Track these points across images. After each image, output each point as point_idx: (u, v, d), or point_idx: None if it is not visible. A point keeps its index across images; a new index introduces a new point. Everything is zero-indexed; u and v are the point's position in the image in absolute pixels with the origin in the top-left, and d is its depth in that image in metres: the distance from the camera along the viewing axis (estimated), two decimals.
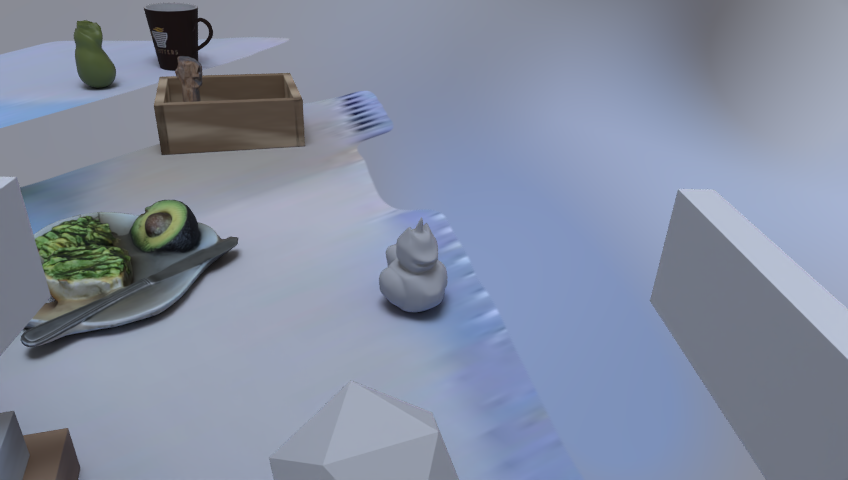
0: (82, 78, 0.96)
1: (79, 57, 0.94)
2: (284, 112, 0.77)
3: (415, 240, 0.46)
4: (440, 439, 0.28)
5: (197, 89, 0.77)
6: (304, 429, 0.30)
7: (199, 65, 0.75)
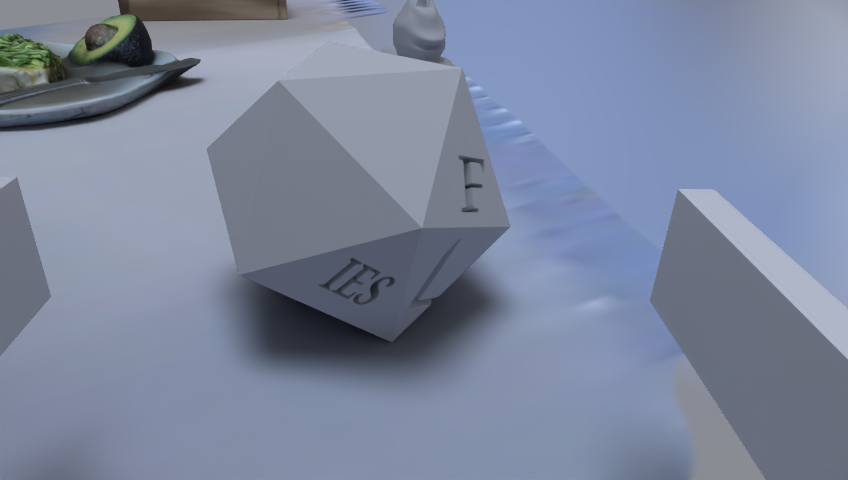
0: None
1: None
2: None
3: (417, 13, 0.37)
4: (465, 82, 0.18)
5: None
6: None
7: None
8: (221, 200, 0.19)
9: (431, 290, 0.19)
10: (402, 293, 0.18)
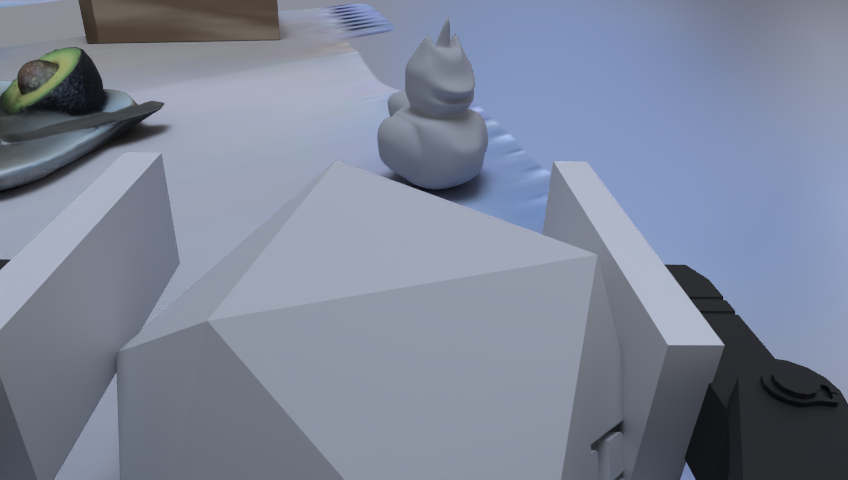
0: None
1: None
2: None
3: (438, 55, 0.28)
4: (601, 281, 0.09)
5: None
6: (207, 275, 0.11)
7: None
8: None
9: None
10: None
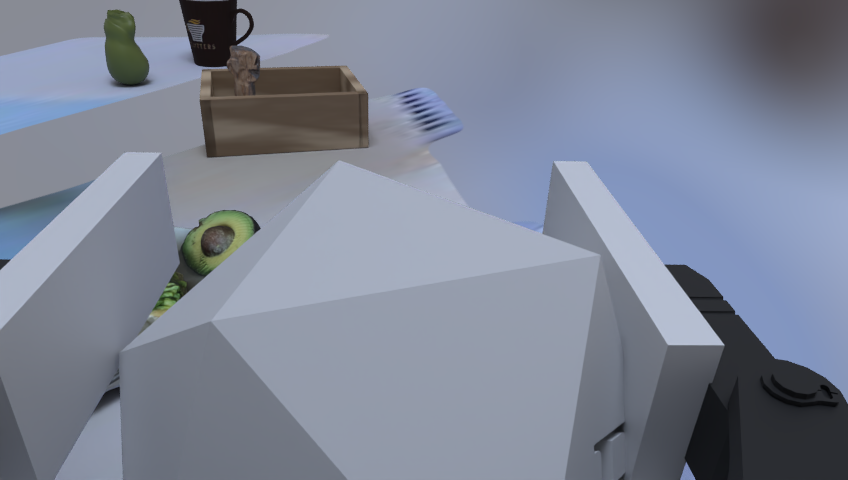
0: (112, 74, 0.86)
1: (109, 50, 0.84)
2: (347, 108, 0.67)
3: None
4: (604, 281, 0.09)
5: (253, 83, 0.66)
6: (210, 275, 0.11)
7: (257, 55, 0.64)
8: None
9: None
10: None
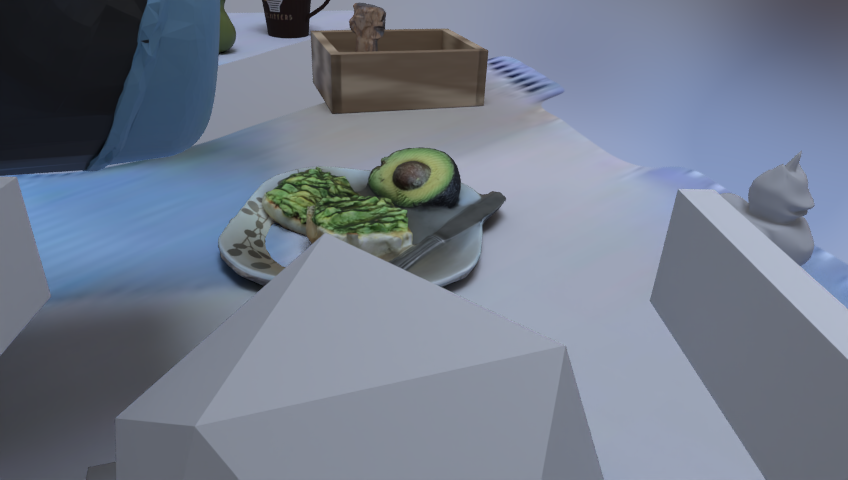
0: None
1: None
2: (467, 65, 0.67)
3: (793, 179, 0.37)
4: (569, 369, 0.10)
5: None
6: (201, 347, 0.12)
7: (384, 11, 0.65)
8: None
9: None
10: None
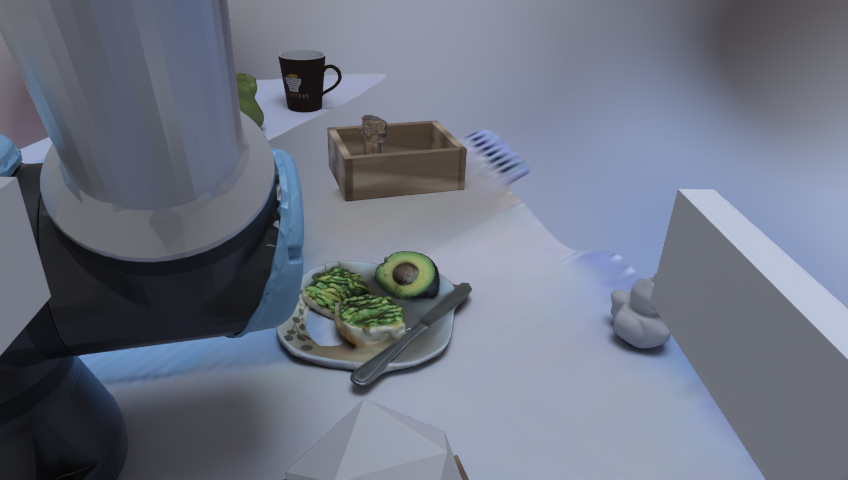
0: None
1: None
2: (451, 160, 0.87)
3: None
4: (448, 459, 0.29)
5: (380, 144, 0.85)
6: (319, 445, 0.31)
7: (386, 123, 0.84)
8: None
9: None
10: None
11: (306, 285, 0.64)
